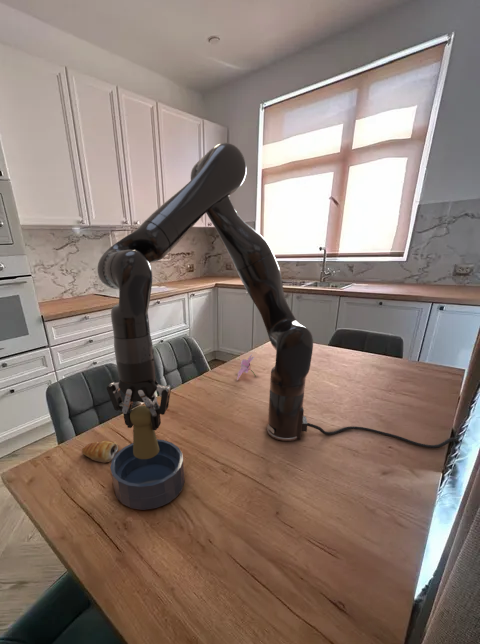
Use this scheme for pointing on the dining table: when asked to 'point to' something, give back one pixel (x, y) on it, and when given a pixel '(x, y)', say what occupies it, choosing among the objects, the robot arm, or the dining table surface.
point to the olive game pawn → (143, 433)
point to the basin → (148, 476)
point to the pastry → (101, 451)
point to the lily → (245, 366)
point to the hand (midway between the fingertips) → (143, 426)
